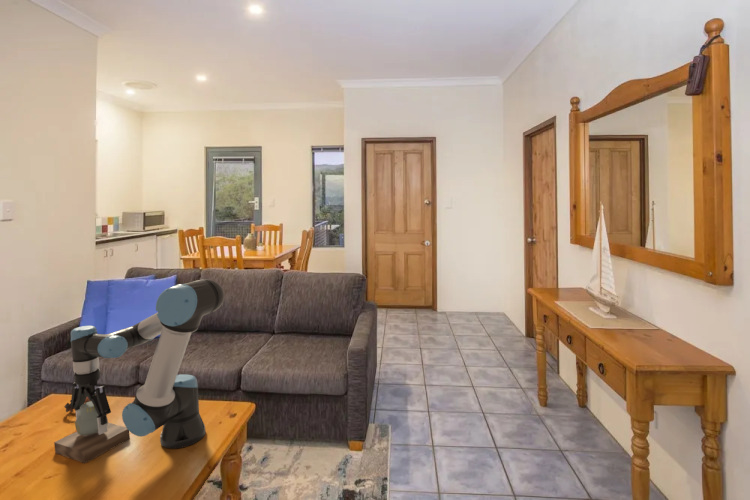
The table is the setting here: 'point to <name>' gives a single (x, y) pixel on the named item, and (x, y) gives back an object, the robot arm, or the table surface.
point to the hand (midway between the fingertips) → (92, 429)
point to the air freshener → (87, 420)
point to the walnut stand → (91, 443)
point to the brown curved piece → (69, 408)
